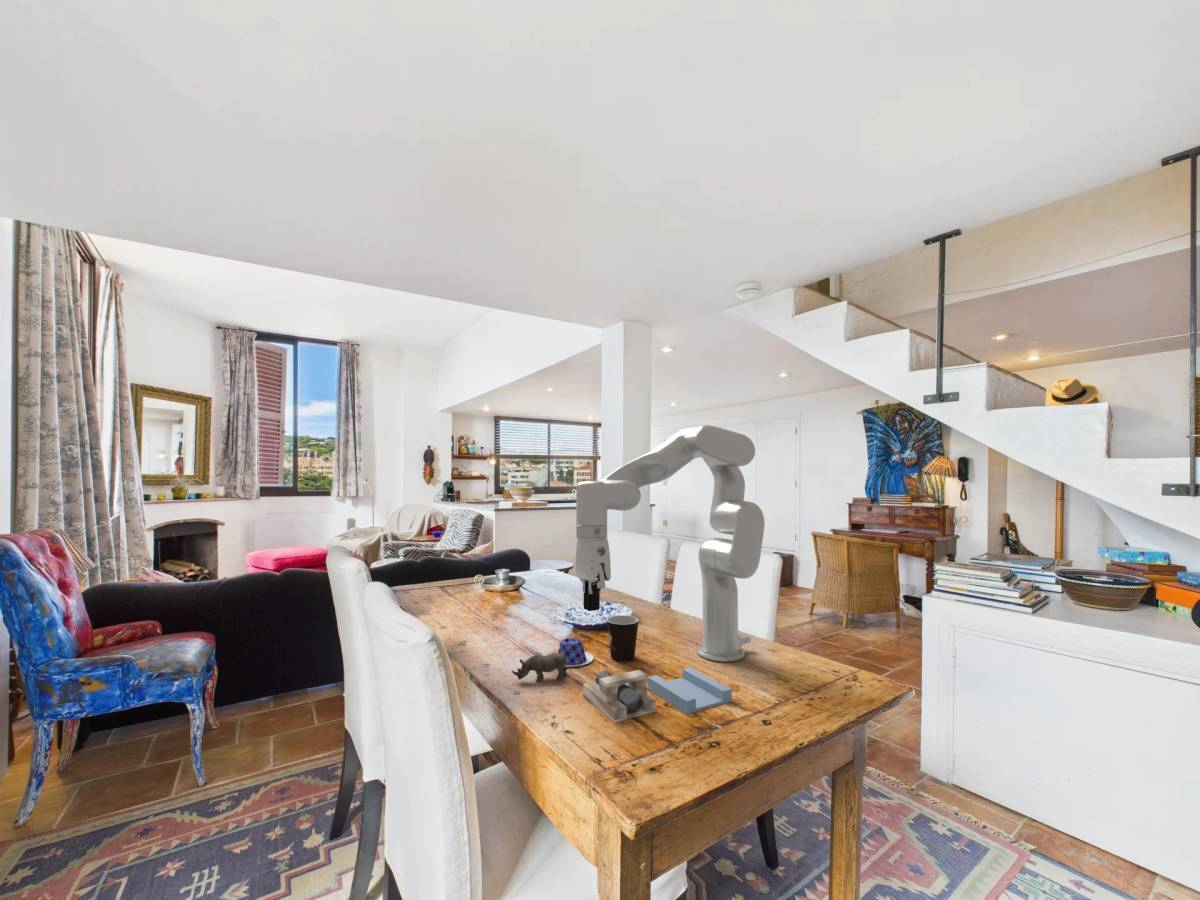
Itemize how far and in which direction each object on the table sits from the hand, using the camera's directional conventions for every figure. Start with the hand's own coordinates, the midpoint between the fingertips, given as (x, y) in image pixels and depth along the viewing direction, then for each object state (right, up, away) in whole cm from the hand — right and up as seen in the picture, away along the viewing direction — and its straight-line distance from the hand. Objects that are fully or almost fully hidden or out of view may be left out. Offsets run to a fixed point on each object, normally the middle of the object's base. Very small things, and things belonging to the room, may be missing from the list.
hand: (591, 609), depth 119 cm
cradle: (+22, -17, -8) cm, 29 cm away
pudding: (-6, -18, +14) cm, 24 cm away
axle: (+6, -14, -11) cm, 19 cm away
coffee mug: (+8, -18, +17) cm, 26 cm away
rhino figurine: (-12, -18, +1) cm, 22 cm away
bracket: (+6, -17, -12) cm, 21 cm away
